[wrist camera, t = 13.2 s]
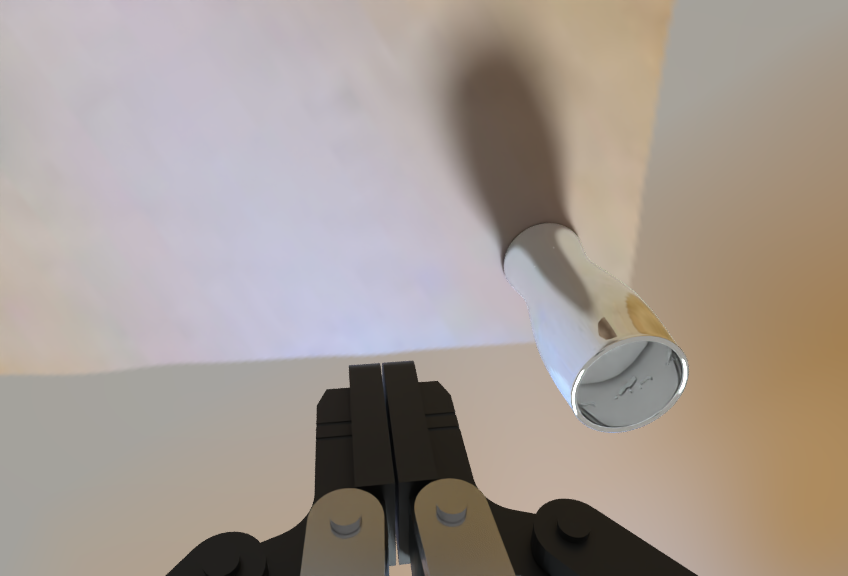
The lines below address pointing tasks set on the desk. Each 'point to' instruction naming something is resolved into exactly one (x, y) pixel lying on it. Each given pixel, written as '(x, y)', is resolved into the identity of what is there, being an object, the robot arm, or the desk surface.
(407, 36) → the desk surface
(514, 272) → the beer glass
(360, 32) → the desk surface
